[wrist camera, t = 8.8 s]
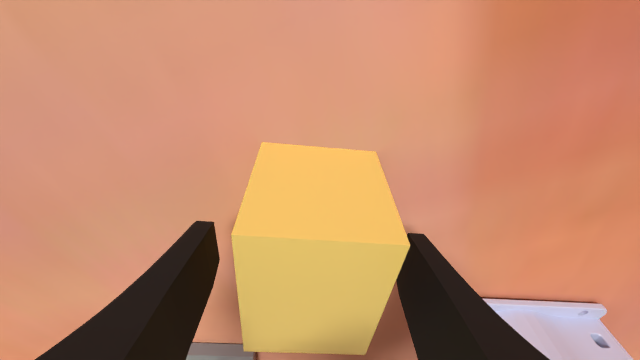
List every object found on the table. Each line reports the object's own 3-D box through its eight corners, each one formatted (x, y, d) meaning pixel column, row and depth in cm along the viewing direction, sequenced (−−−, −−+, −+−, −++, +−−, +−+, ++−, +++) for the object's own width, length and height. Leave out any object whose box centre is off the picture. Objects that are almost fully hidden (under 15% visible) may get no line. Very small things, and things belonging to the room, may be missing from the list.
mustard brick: (375, 150, 11) (410, 245, 7) (350, 251, 15) (365, 354, 11) (262, 141, 11) (231, 234, 7) (263, 246, 14) (243, 351, 10)
